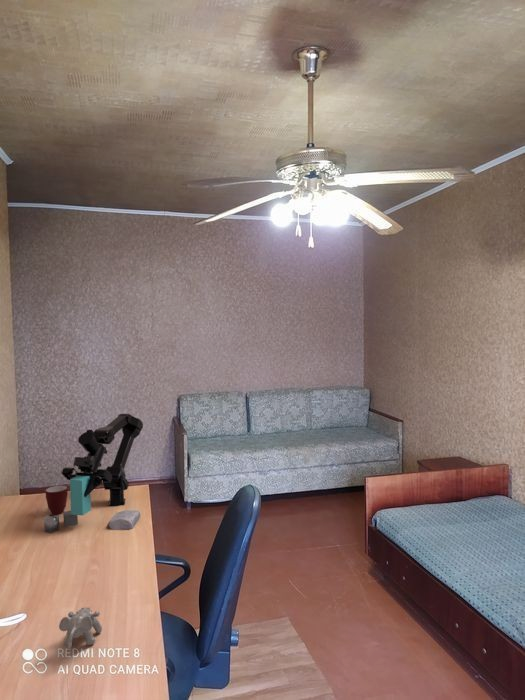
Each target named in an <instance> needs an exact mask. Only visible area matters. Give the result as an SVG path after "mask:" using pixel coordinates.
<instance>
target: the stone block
mask: <svg viewBox="0 0 525 700" xmlns="http://www.w3.org/2000/svg"><path fill="white" fill-rule="evenodd" d="M139 518H140V519H141V511H140V510H135V509H125V510H121V511H118V512H116V513H115V514H114V515H113V516H112V518H110V520H109V522H108V526H109V528H110V530H112V529H114V530H117V531H119V530H120V531H121V530H132V529H134V528H135V526H136V525H137V523H138V522H139V521H140V519H139Z"/></svg>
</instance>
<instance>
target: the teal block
mask: <svg viewBox="0 0 525 700" xmlns="http://www.w3.org/2000/svg"><path fill="white" fill-rule="evenodd" d="M89 478H90V476H79V475H78V476H76V477H74V478H72V479H70V480H69V492H70V493H69V494H70V495H69V497H70V510H71V514H73V515H78V516H84V515H86V514H89V512H91V511H92V501H91V500H92V499H91V498H92V497H91V493H90V494H88V495H87V496H86V497H85V496H84V493H85V490H86V488H87V486H88V483H89Z"/></svg>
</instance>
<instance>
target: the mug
mask: <svg viewBox="0 0 525 700" xmlns="http://www.w3.org/2000/svg"><path fill="white" fill-rule="evenodd" d="M45 500H46V503H47V509H48V510H49V512H50V513H51V514H58V515H59V514H60V515H62V514H63V512H65V509H66V507H67V500H68V486H66V485H54V486H49V487H47V488H46V489H45ZM60 515H59V516H60Z"/></svg>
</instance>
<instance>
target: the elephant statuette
mask: <svg viewBox="0 0 525 700" xmlns="http://www.w3.org/2000/svg"><path fill="white" fill-rule="evenodd" d="M97 617H100V611H99V610H96V611H94V613H92V609H91V607H89V606H88V607H81V608H80V609H78V610H77V611H75V614H74V611H69V612H68V614H67V616H64V617H63V618H62V619H61V620H60V621H59V625H58V628H59V630H60V631H61V632H66V637H65V639H64V641H63V644H64V645H65V646H67V649H68V650H71V649H72V646H73V640H74V639H76V638H79V637H80V636H81V635H82V636H83V637H84V639H85V645H87V646H92V645H93V644H95V643H96V638H95V637H94V634H93V630H92V629H94V631H95V633H96V634H99V635H100V634H101V633H102V631H103V626H102V624H101V623H100V621H99V619H97Z"/></svg>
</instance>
